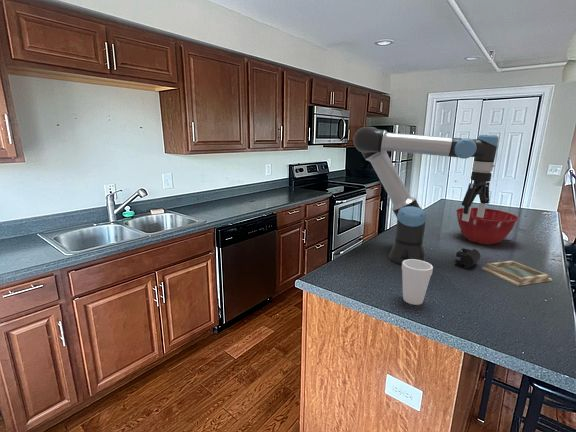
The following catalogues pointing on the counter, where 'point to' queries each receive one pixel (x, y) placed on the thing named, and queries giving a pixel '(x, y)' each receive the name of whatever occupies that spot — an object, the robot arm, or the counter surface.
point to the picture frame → (516, 273)
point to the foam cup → (415, 280)
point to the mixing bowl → (486, 225)
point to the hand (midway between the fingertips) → (472, 219)
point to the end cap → (467, 258)
